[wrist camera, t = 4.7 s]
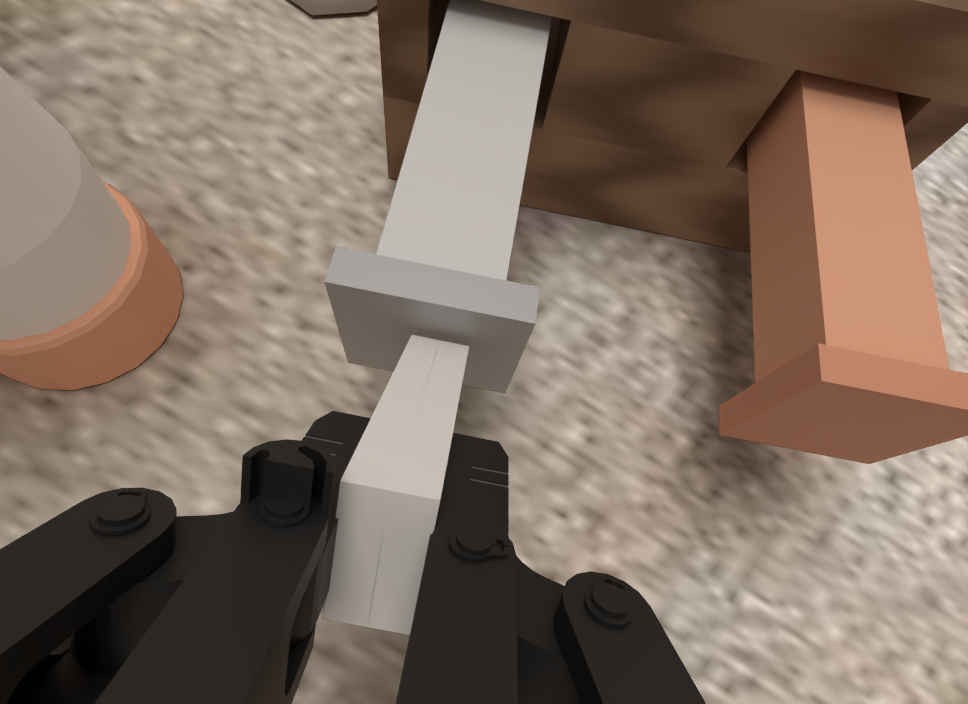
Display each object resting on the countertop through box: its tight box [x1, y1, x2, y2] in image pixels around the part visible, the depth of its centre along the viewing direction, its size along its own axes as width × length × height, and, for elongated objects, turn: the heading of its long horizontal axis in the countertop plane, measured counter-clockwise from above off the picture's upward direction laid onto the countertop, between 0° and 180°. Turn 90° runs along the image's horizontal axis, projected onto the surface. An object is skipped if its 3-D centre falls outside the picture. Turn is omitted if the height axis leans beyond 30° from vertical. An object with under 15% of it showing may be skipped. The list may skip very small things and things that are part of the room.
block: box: [377, 0, 968, 252], centre depth 23 cm, size 20×10×12 cm, turn 81°
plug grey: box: [325, 0, 552, 393], centre depth 18 cm, size 5×14×5 cm, turn 171°
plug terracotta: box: [719, 70, 968, 464], centre depth 19 cm, size 5×14×5 cm, turn 171°
